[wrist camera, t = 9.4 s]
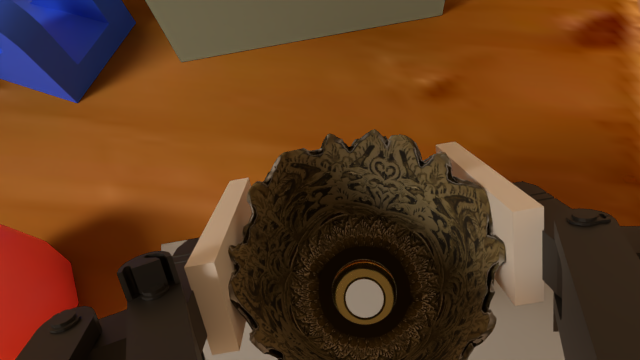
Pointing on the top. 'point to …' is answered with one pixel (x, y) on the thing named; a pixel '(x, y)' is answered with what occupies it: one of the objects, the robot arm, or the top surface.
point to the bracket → (60, 42)
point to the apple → (30, 288)
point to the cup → (366, 254)
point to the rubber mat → (491, 356)
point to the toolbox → (273, 21)
